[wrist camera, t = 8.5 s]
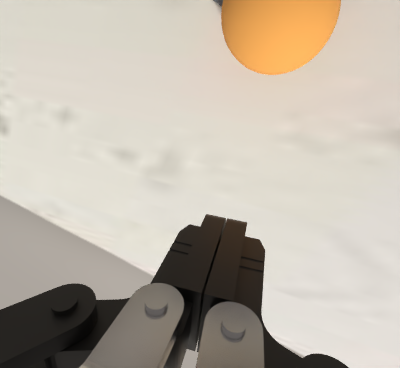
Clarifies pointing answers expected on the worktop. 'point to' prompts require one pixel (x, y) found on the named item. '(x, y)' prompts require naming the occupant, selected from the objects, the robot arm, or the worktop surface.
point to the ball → (277, 31)
